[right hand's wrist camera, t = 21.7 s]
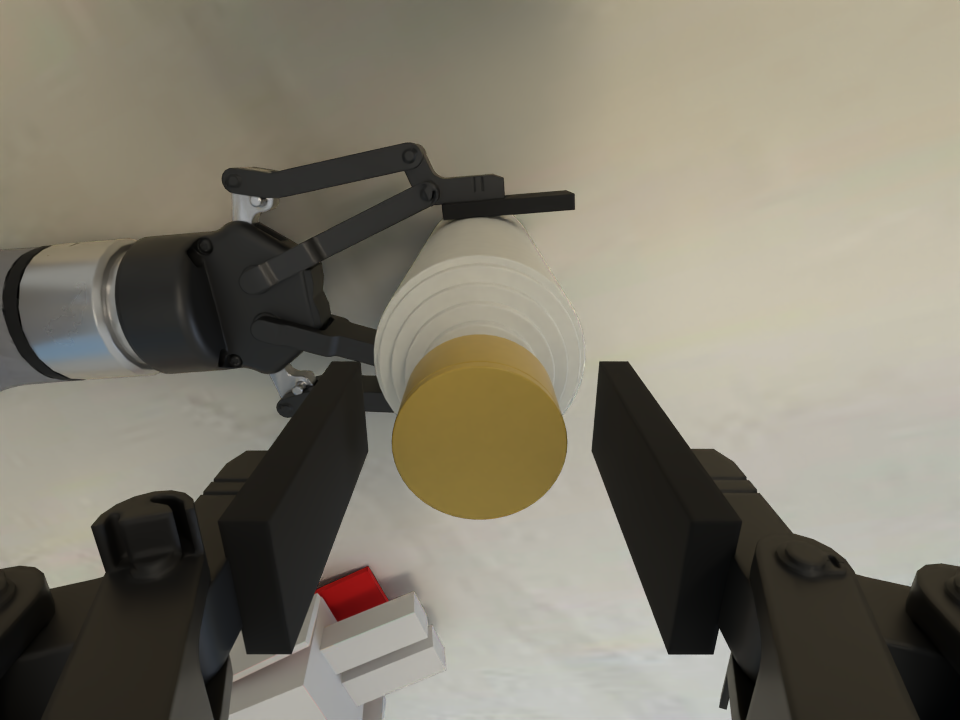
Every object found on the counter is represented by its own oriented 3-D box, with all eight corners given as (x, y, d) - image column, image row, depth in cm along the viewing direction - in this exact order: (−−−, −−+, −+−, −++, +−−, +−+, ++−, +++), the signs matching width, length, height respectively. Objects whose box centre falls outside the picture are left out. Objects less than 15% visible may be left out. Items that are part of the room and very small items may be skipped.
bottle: (550, 228, 34) (676, 359, 12) (508, 326, 36) (551, 580, 15) (447, 186, 33) (386, 247, 11) (411, 289, 36) (303, 503, 14)
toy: (464, 751, 38) (73, 910, 38) (450, 610, 50) (157, 728, 50) (396, 631, 34) (-43, 809, 34) (399, 510, 46) (80, 639, 46)
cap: (381, 434, 15) (364, 481, 13) (443, 307, 14) (436, 336, 11) (511, 489, 16) (516, 543, 13) (582, 372, 14) (600, 412, 12)
